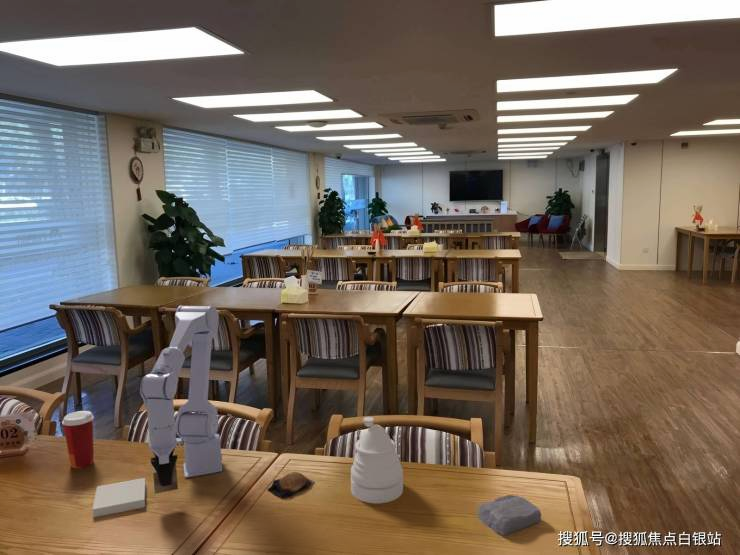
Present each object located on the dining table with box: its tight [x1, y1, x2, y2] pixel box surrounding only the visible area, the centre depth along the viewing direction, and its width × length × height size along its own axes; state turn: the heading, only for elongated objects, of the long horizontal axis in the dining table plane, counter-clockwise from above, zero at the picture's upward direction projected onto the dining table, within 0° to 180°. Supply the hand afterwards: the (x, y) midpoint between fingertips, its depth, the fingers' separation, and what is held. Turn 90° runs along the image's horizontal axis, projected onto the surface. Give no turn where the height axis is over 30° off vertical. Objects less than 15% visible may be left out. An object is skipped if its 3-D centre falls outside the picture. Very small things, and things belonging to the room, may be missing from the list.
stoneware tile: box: [92, 477, 146, 518], centre depth 134 cm, size 11×11×2 cm
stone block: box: [477, 494, 542, 537], centre depth 124 cm, size 12×5×10 cm
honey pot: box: [350, 416, 404, 504], centre depth 136 cm, size 13×13×18 cm
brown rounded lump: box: [267, 471, 316, 500], centre depth 139 cm, size 11×8×4 cm
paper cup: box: [61, 410, 95, 469], centre depth 152 cm, size 8×8×14 cm
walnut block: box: [152, 462, 179, 495], centre depth 130 cm, size 5×5×5 cm
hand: (165, 479), depth 130 cm, fingers closed on walnut block, 5 cm apart
